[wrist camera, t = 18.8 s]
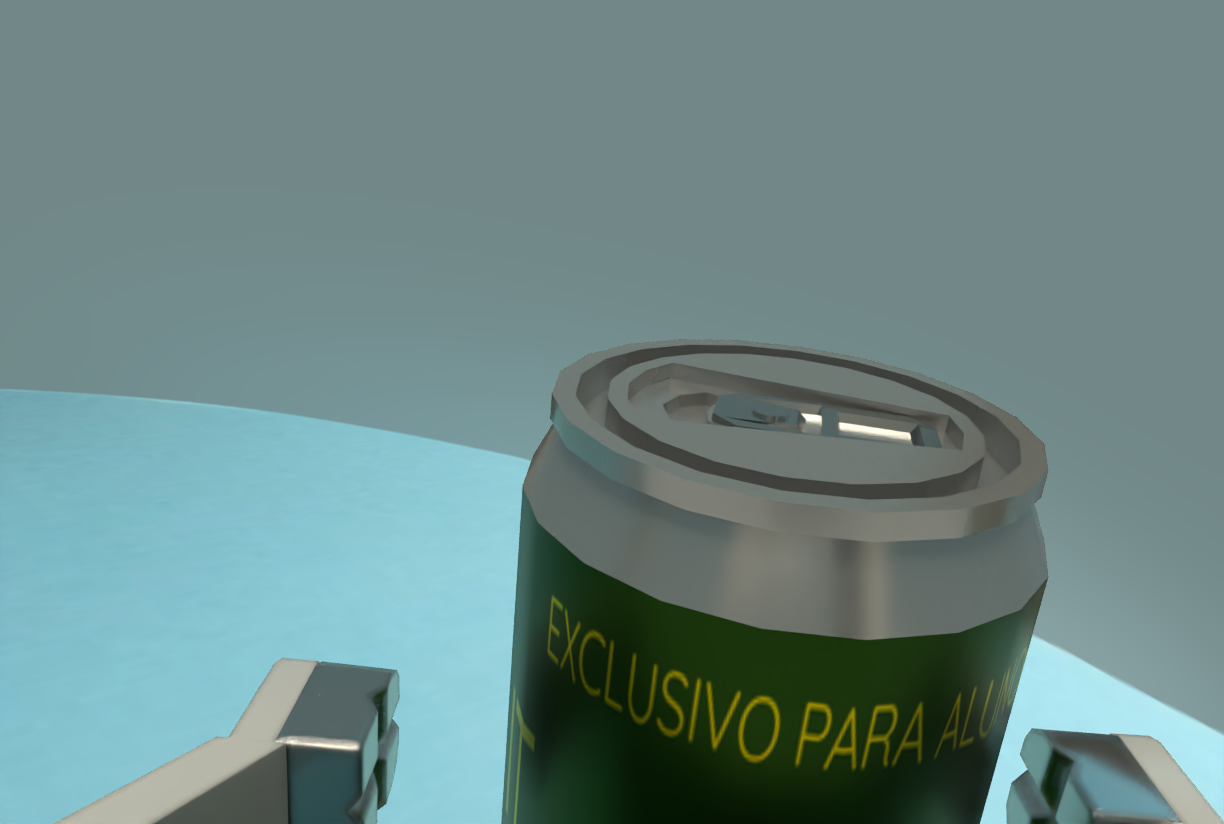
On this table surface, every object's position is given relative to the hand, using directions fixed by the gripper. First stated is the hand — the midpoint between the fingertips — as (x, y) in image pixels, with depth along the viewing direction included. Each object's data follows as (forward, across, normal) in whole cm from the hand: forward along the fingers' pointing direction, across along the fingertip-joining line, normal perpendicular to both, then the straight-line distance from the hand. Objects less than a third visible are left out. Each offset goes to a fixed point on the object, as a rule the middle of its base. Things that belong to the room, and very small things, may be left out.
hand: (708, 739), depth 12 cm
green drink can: (-1, 0, +7) cm, 7 cm away
